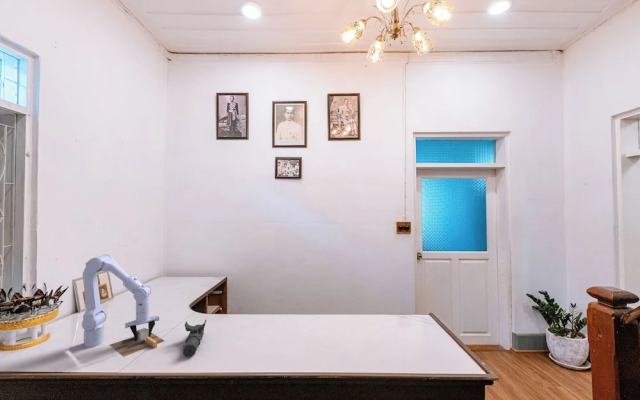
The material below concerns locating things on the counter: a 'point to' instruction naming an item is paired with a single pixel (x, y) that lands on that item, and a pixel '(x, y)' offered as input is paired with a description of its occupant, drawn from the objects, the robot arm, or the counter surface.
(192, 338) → the laser sight
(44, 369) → the counter surface
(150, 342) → the bar
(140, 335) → the white block
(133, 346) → the base board
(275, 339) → the counter surface
